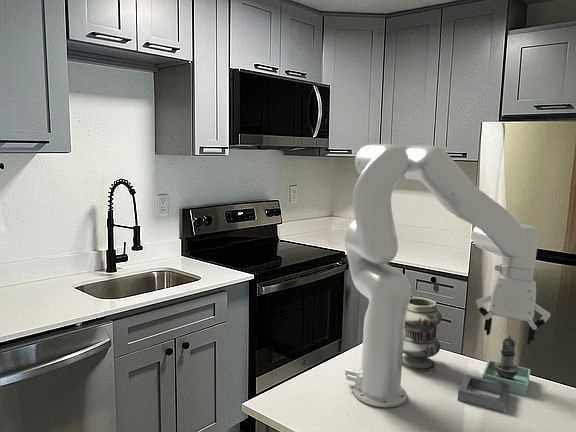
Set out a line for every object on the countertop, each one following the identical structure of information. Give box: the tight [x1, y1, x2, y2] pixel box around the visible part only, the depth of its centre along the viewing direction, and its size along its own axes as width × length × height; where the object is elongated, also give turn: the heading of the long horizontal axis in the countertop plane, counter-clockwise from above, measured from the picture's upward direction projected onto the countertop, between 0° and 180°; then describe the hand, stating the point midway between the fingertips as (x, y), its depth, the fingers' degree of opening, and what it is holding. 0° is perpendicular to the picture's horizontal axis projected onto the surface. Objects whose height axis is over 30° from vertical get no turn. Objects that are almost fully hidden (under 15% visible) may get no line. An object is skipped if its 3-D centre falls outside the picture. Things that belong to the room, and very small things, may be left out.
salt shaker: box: [494, 335, 519, 381], centre depth 128 cm, size 6×6×12 cm
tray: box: [482, 359, 531, 397], centre depth 129 cm, size 10×10×3 cm
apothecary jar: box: [402, 297, 443, 372], centre depth 137 cm, size 12×12×18 cm
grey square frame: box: [457, 373, 510, 413], centre depth 121 cm, size 10×10×2 cm
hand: (508, 338), depth 127 cm, fingers open, 9 cm apart
